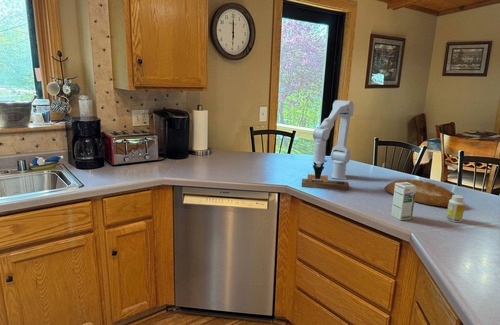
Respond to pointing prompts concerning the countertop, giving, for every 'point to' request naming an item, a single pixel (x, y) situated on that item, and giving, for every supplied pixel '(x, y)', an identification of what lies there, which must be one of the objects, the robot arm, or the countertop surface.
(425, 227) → the countertop surface
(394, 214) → the syrup box
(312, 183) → the wooden board with holes
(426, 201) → the bread
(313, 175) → the tan rectangular block
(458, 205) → the supplement bottle
